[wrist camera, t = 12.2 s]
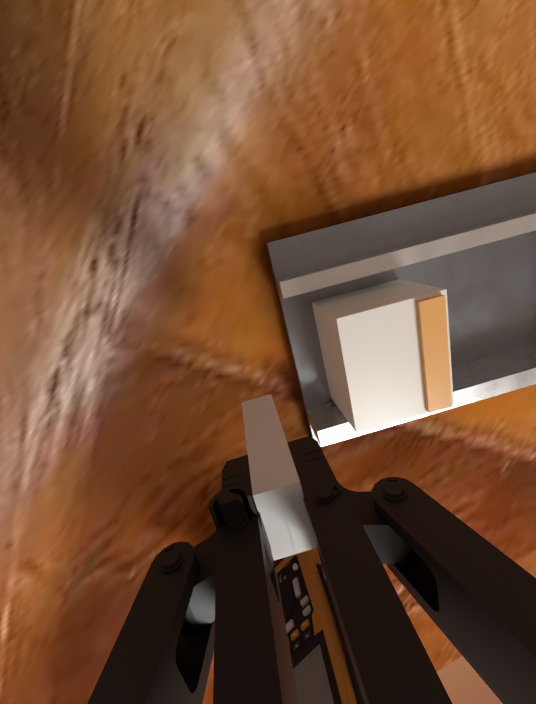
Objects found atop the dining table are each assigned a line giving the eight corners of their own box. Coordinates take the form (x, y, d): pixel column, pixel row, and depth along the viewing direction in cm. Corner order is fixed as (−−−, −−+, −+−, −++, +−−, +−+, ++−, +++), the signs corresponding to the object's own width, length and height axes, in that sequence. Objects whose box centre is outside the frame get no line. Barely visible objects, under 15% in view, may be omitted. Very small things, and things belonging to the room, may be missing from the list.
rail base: (265, 243, 22) (274, 243, 18) (584, 158, 22) (658, 141, 19) (311, 439, 26) (326, 472, 23) (572, 363, 27) (628, 382, 24)
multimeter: (263, 465, 27) (366, 1005, 8) (352, 519, 30) (584, 1008, 11) (156, 587, 29) (36, 1227, 10) (248, 626, 32) (287, 1181, 13)
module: (311, 302, 22) (338, 320, 17) (399, 279, 22) (450, 289, 17) (330, 396, 24) (358, 436, 19) (409, 374, 25) (457, 407, 20)
